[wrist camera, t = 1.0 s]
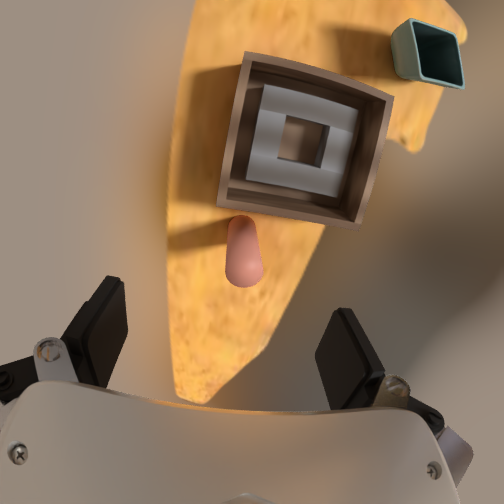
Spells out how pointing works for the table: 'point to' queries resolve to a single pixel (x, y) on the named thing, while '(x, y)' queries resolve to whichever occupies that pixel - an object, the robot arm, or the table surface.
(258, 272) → the peg
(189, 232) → the table surface
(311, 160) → the open box
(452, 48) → the flower pot
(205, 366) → the table surface
